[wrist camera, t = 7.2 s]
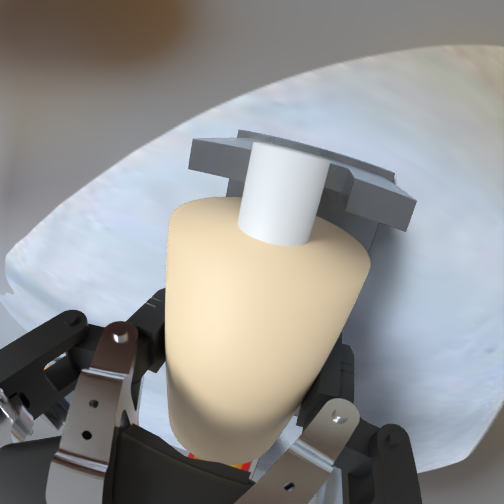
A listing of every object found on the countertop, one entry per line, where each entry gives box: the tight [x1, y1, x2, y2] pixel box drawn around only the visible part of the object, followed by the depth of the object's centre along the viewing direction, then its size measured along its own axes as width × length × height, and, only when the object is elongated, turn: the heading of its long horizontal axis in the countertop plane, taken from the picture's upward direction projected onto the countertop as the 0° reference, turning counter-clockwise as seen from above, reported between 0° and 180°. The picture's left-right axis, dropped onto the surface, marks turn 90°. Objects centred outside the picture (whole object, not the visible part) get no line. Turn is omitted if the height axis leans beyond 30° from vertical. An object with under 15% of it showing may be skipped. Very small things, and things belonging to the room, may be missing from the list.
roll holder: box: [188, 130, 417, 416], centre depth 16 cm, size 10×14×8 cm
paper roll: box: [165, 142, 371, 465], centre depth 10 cm, size 14×6×6 cm, turn 169°
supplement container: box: [40, 358, 74, 431], centre depth 36 cm, size 10×10×12 cm
